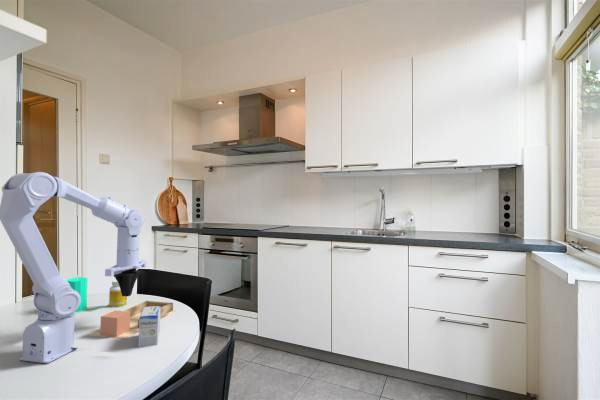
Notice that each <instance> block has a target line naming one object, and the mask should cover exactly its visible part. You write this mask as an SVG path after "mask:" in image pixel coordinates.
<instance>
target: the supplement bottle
mask: <svg viewBox="0 0 600 400" xmlns="http://www.w3.org/2000/svg"><path fill="white" fill-rule="evenodd" d="M111 285H112V286H111V287H109V295H108V298H109V299H108V306H109V308H120V307H125V306H126V305H127V299H128V296H122V294H121V290H120V286H119V284H118V282H117V280H116V279H113V280H112V281H111Z"/></svg>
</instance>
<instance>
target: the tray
mask: <svg viewBox="0 0 600 400" xmlns="http://www.w3.org/2000/svg"><path fill="white" fill-rule="evenodd" d="M151 306H160V308H161V312H160V320H162V319H163V318H164V319H165V318H166V317H167V316H169V315H171V314H173V313H174V312H175V309H174V303H173V302H169V301H168V302H165V301H154V300H153V301H152V300H146V301H143V302H140V303H138V304H137V305H133V306H132V307H129V308H128V309H125V310H124V311H125V312H130V330H128V331H126V332H125V333H123V334H121V335H119V336H117V337H113V336H103V335H100V328H99V329H96V330H94V331H92V332H90V333H87V336H92V337H93V336H94V337H104V338H112V339H121V340H123V339H124V340H127V339H129V338H131V337H132V336H134V335H135V334H139V319H140V315H141V313H142V310H143V308H144V307H151Z"/></svg>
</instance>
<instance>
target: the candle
mask: <svg viewBox="0 0 600 400" xmlns="http://www.w3.org/2000/svg"><path fill="white" fill-rule="evenodd" d="M66 281H67V282H68V283H69V284H70V286H71V288H72V289H73V290H75V291H77V292H78V293H79V294H80V297H81V303H80V306H79V307H78V309H77V310H76V311H75V313H78V312H79V313H80V312H82V311H85V310H87V307H88V306H87V305H88V277H83V276H78V274H76V277H71V278H68V279H66Z"/></svg>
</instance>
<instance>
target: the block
mask: <svg viewBox="0 0 600 400" xmlns="http://www.w3.org/2000/svg"><path fill="white" fill-rule="evenodd" d="M99 329H100V335H103V336H113V337H117V336H119V335H121V334H123V333H125V332H126V331H128V330H130V312H125V310H123V311H121V310H113V311H111V312H109V313H106V314H104V315H102V316H100V328H99Z"/></svg>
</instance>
